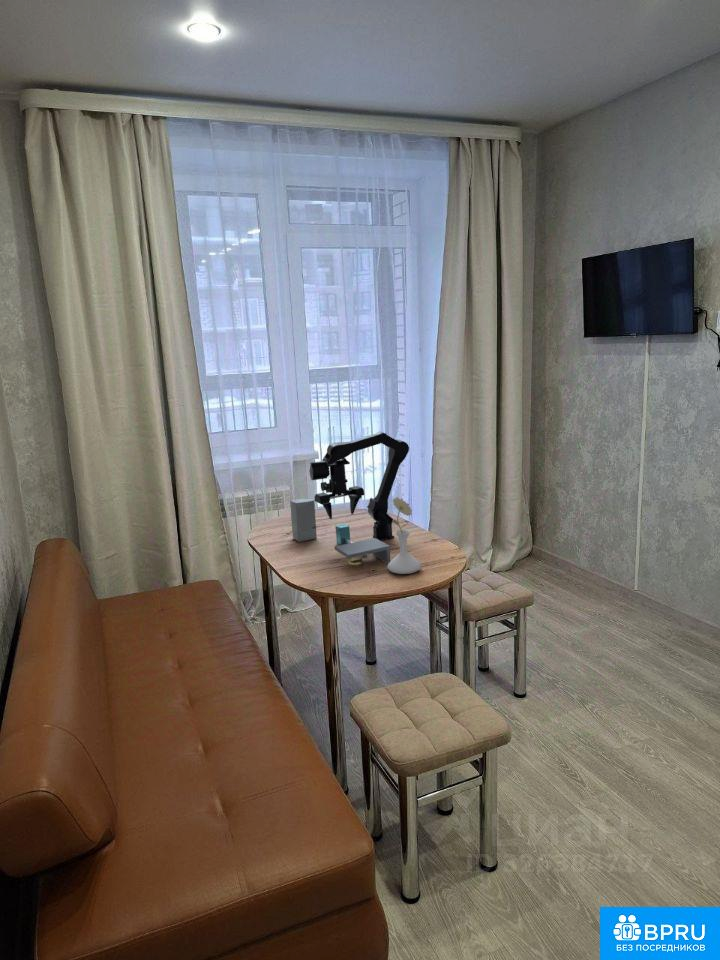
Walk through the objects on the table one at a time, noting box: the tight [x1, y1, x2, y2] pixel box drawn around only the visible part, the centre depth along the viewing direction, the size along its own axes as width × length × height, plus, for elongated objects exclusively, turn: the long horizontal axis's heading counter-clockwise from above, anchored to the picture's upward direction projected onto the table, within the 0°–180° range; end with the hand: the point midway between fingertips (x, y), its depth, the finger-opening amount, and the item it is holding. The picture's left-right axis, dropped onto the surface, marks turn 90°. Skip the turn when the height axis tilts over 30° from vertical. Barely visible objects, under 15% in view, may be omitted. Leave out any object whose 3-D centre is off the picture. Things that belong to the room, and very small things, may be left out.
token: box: [347, 557, 363, 568], centre depth 230 cm, size 5×5×2 cm
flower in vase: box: [387, 496, 422, 575], centre depth 219 cm, size 13×11×25 cm
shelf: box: [334, 537, 391, 564], centre depth 231 cm, size 16×11×6 cm
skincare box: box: [289, 497, 318, 543], centre depth 262 cm, size 8×7×16 cm
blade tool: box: [335, 523, 368, 557], centre depth 247 cm, size 4×20×7 cm, turn 27°
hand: (341, 516), depth 252 cm, fingers open, 9 cm apart
